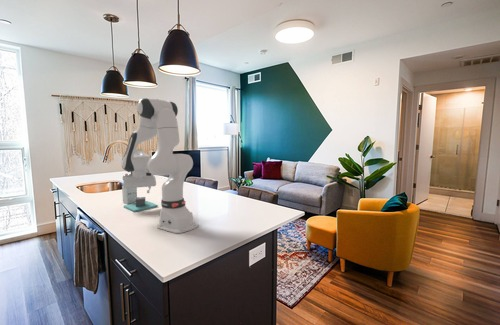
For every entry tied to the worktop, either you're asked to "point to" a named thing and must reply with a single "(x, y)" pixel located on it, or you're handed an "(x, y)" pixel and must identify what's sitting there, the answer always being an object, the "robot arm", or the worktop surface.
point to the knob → (140, 201)
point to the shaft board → (135, 209)
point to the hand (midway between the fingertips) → (140, 193)
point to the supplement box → (129, 195)
